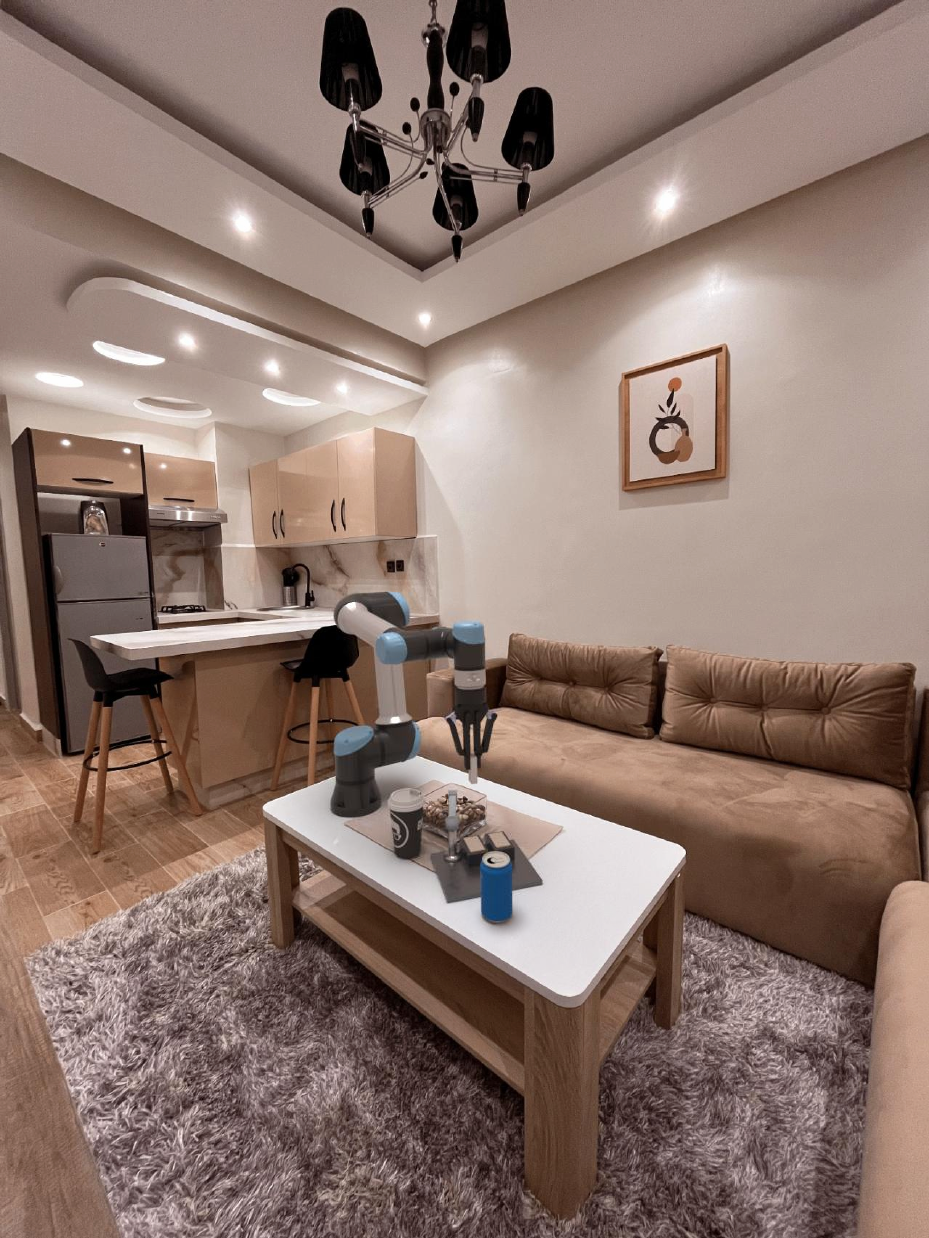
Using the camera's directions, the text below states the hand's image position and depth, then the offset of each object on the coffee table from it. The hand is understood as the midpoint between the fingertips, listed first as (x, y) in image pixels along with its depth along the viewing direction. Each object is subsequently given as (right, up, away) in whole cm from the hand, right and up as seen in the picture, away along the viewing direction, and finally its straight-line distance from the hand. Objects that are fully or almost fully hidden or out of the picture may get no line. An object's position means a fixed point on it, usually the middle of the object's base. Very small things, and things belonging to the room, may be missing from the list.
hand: (473, 781), depth 121 cm
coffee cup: (-16, -20, +5) cm, 26 cm away
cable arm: (-5, -11, +7) cm, 14 cm away
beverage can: (+5, -21, -19) cm, 29 cm away
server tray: (+2, -20, -4) cm, 20 cm away
